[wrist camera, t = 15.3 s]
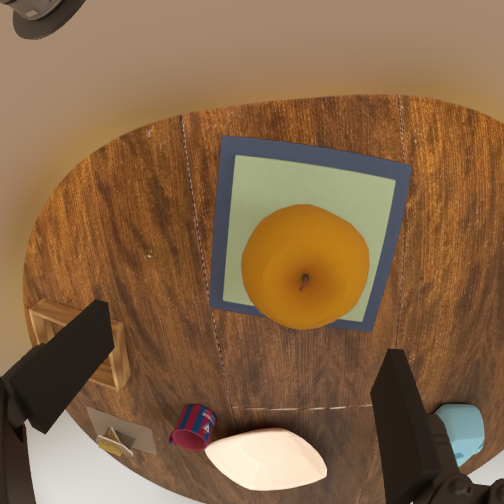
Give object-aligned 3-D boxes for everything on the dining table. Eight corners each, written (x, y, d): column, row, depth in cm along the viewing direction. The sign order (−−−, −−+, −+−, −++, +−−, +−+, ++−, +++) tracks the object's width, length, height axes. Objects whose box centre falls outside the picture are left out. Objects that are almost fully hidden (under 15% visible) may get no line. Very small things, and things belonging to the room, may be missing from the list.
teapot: (417, 396, 47) (432, 443, 37) (486, 399, 46) (505, 438, 35) (389, 437, 52) (396, 482, 41) (456, 438, 50) (468, 476, 39)
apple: (363, 197, 24) (391, 226, 16) (349, 294, 27) (363, 355, 19) (256, 188, 25) (233, 212, 17) (252, 285, 28) (231, 344, 20)
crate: (249, 137, 38) (221, 135, 25) (376, 156, 36) (412, 165, 23) (237, 257, 44) (208, 307, 31) (353, 275, 42) (371, 332, 29)
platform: (85, 405, 63) (72, 422, 57) (151, 428, 61) (140, 449, 55) (96, 433, 67) (85, 450, 61) (157, 455, 65) (148, 474, 59)
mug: (222, 422, 56) (214, 448, 49) (185, 430, 59) (175, 454, 52) (202, 400, 54) (192, 426, 48) (165, 410, 57) (153, 434, 51)
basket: (43, 297, 53) (28, 309, 49) (123, 322, 51) (109, 337, 46) (55, 348, 58) (42, 360, 53) (131, 375, 55) (119, 391, 51)
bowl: (251, 477, 62) (247, 494, 57) (197, 425, 57) (190, 444, 52) (338, 459, 56) (338, 478, 51) (295, 401, 51) (293, 423, 46)
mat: (237, 154, 25) (235, 155, 25) (393, 179, 24) (396, 180, 23) (224, 296, 30) (222, 300, 29) (360, 317, 29) (362, 322, 28)
